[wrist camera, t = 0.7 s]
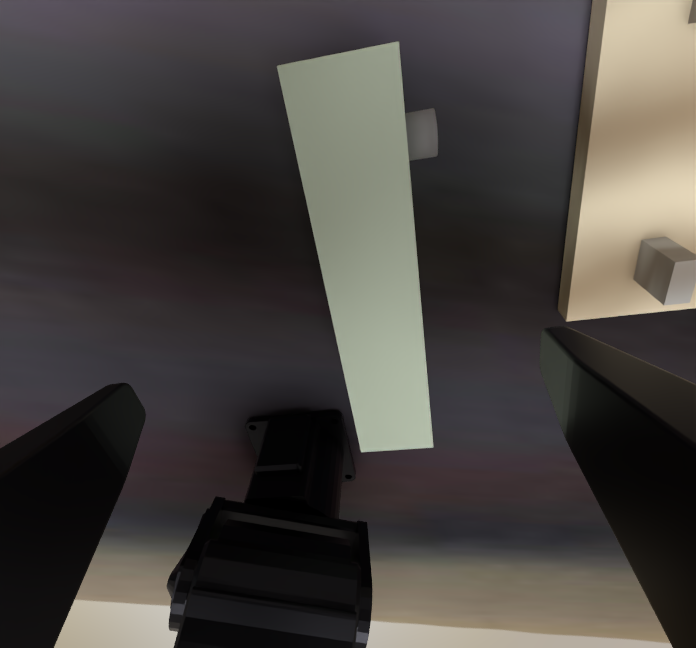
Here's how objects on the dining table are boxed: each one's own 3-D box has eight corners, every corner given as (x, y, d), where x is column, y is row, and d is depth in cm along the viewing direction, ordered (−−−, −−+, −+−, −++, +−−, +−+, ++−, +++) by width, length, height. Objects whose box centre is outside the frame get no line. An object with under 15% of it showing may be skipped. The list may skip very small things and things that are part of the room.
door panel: (434, 336, 24) (458, 445, 17) (365, 343, 24) (361, 452, 17) (415, 44, 16) (441, 32, 10) (316, 64, 17) (276, 65, 10)
